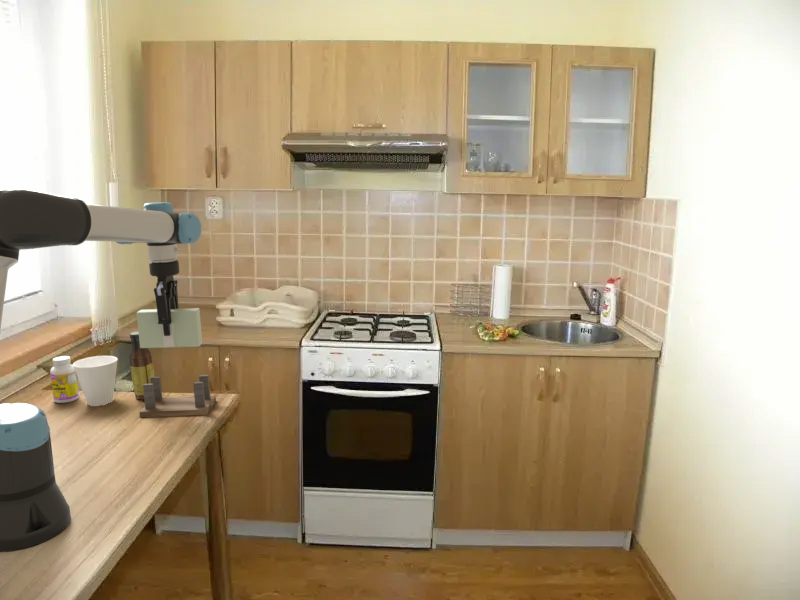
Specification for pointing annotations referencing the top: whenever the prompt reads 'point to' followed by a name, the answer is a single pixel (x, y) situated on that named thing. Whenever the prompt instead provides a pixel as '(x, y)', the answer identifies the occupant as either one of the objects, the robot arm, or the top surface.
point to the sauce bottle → (140, 366)
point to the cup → (97, 378)
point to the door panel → (183, 328)
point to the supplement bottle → (63, 380)
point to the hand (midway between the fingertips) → (171, 344)
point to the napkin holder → (177, 400)
